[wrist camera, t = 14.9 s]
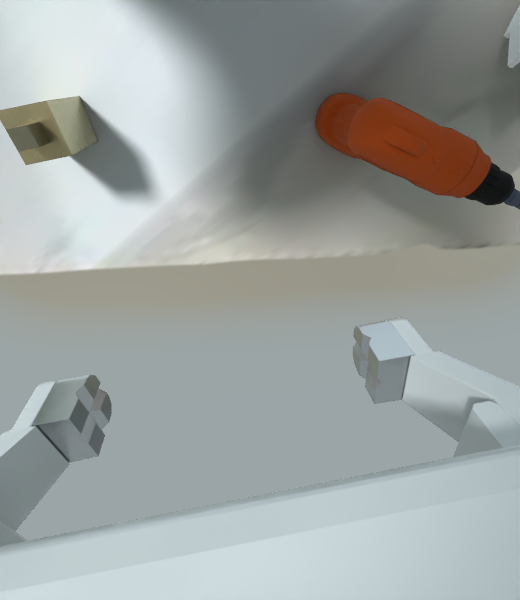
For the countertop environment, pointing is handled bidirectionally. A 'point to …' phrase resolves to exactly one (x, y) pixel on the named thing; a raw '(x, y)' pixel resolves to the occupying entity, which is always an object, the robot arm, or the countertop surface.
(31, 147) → the square bit
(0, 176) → the countertop surface
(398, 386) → the robot arm
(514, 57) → the spiral staircase
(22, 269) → the countertop surface
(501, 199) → the toy drill
